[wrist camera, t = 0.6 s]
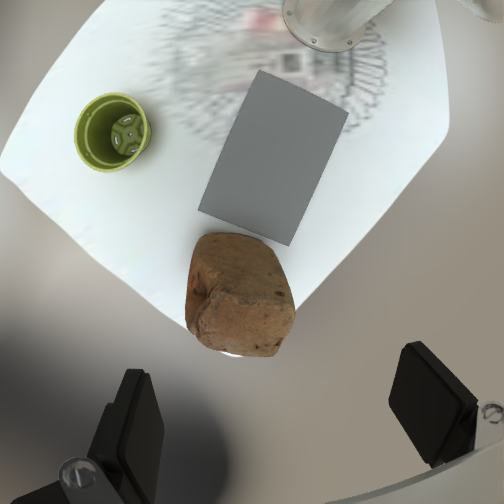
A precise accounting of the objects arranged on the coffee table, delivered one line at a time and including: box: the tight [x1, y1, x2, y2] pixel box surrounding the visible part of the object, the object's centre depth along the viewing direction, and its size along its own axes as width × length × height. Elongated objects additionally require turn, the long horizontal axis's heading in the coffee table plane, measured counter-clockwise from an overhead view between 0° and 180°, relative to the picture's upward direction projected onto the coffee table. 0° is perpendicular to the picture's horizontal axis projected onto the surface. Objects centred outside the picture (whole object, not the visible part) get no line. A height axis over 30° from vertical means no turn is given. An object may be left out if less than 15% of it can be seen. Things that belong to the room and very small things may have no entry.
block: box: [185, 233, 295, 357], centre depth 36 cm, size 11×8×20 cm
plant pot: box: [74, 93, 151, 172], centre depth 35 cm, size 9×9×9 cm
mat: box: [198, 70, 349, 246], centre depth 42 cm, size 22×14×1 cm, turn 157°
